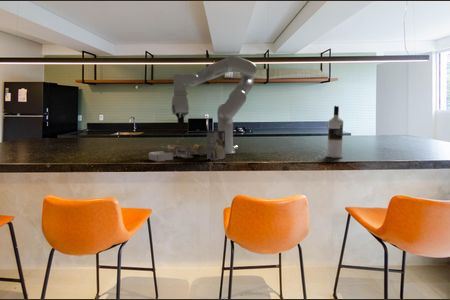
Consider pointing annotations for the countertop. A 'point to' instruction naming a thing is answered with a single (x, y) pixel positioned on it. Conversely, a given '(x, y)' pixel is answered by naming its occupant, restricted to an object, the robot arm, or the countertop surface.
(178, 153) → the stand
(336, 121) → the vodka
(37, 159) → the countertop surface
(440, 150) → the countertop surface
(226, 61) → the robot arm
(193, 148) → the launcher
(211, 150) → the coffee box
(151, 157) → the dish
